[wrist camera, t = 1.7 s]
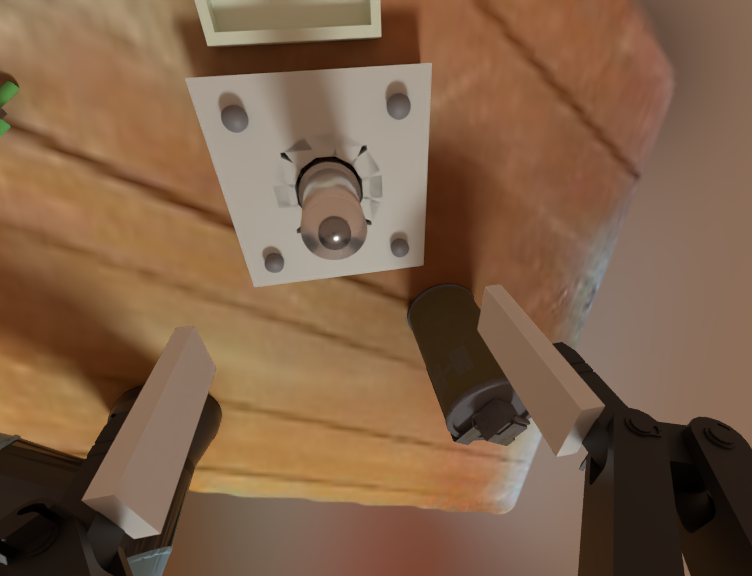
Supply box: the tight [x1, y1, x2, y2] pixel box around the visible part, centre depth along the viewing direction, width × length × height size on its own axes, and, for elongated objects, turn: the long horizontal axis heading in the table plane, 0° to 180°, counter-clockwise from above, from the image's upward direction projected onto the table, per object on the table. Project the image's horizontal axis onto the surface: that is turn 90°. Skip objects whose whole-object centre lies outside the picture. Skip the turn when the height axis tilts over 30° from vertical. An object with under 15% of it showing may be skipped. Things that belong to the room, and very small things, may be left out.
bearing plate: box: [185, 63, 432, 287], centre depth 32 cm, size 20×20×4 cm
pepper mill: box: [298, 158, 367, 260], centre depth 29 cm, size 6×6×14 cm
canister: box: [408, 284, 531, 446], centre depth 39 cm, size 11×10×20 cm
